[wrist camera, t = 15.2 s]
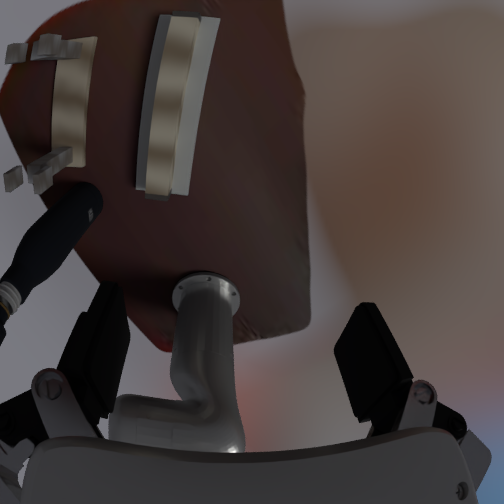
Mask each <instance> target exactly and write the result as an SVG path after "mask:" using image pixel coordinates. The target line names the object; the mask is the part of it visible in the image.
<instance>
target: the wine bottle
mask: <svg viewBox="0 0 504 504" xmlns="http://www.w3.org/2000/svg"><path fill="white" fill-rule="evenodd" d="M102 208H103V199H102V195H101V193H100V191H99V190H98V189H97V188H96V187H95V186H94V185H92V184H90V183H86V182H83V183H79V184H77V185H76V186H74V187H73V188H72V189H71V190H70V191H68V192H67V193H66V194H65V195H64V196H63V197H62V198H60V199H59V200H58V201H57V202H56V203H55V204H54V205H53V206H52V207H51V208H50V209H49V210H47V212H45V213H44V215H42V216H41V217H40V218H39V219H38V220H37V221H36V222H35V223H34V224H33V225H32V226H31V227H30V228H29V229H28V230H27V232H26V233H25V235H24V236H23V238H22V240H21V242H20V244H19V246H18V248H17V250H16V253H15V255H14V258H13V261H12V264H11V266H10V267H9V268H8V270H7V271H6V272H5V274H4V275H3V276H2V278H1V279H0V346H1V344H2V342H3V340H4V338H5V336H6V330H5V328H4V324H5V322H6V321H7V320H8V319H9V317H10V315H13V314H14V313H15V312H16V311H17V308H19V306H20V305H21V304H23V303H24V302H25V300H26V298H27V297H28V295H29V294H30V292H31V290H32V289H33V288H34V287H36V286H37V285H39V284H40V283H42V282H43V281H45V280H46V279H48V278H49V277H50V276H51V275H52V274H53V273H54V272H55V271H56V270H57V269H58V268H59V267H60V266H61V264H62V263H63V261H64V260H65V259H66V257H67V256H68V254H69V253H70V252H71V250H72V249H73V247H74V246H75V245H76V243H77V242H78V241H79V239H80V238H81V237H82V235H83V234H84V233H85V231H86V230H87V229H88V227H89V226H90V225H91V224H92V222H93V221H94V220H95V219H96V217H97V216H98V215H99V214H100V212H101V210H102Z"/></svg>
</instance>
